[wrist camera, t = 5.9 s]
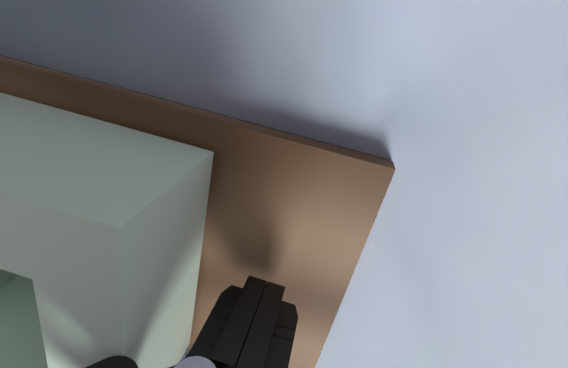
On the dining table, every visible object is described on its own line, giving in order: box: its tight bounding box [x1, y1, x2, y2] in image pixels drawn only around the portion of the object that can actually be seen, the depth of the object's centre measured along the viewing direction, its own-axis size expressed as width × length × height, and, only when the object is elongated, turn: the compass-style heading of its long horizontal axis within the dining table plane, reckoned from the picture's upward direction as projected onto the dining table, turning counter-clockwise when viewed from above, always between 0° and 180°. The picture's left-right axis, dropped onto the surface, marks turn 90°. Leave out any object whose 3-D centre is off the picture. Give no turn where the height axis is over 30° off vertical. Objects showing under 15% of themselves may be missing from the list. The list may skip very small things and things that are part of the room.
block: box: [0, 92, 214, 368], centre depth 11 cm, size 10×10×5 cm
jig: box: [0, 56, 395, 368], centre depth 11 cm, size 12×18×8 cm, turn 78°
